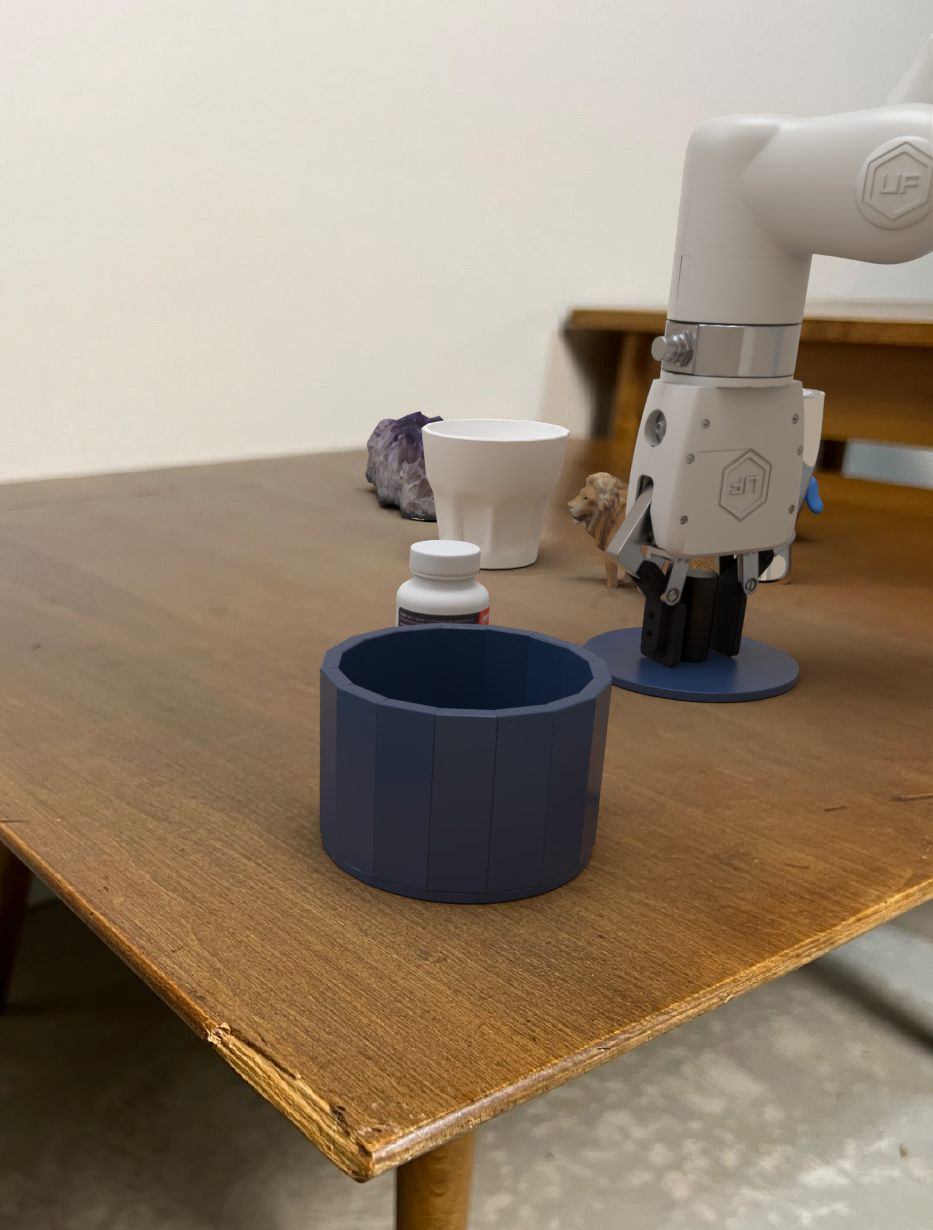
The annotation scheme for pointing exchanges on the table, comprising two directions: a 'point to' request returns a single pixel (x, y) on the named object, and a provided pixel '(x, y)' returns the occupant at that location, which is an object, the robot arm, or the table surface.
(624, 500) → the lion figurine
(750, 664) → the lid
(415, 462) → the geode
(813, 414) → the beer glass
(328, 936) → the table surface
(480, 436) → the cup
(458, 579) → the pill bottle
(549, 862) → the pot
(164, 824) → the table surface
